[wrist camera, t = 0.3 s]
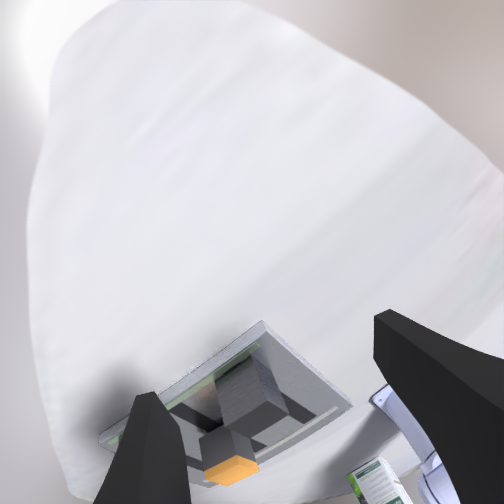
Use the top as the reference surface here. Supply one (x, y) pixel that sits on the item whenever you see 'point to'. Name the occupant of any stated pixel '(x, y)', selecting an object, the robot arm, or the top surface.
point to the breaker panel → (285, 379)
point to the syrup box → (377, 484)
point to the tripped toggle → (227, 456)
